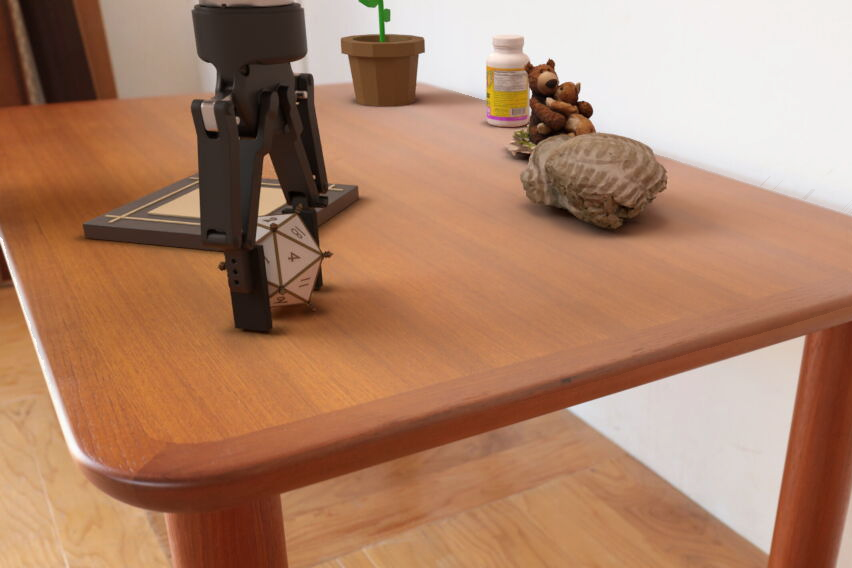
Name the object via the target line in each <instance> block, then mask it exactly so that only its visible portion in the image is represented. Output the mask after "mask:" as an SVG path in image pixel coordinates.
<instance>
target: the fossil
mask: <svg viewBox="0 0 852 568" xmlns="http://www.w3.org/2000/svg"><path fill="white" fill-rule="evenodd" d="M667 173H668V171H667V169H666V167H664V165H663V164H661V163H660V162H659V161H657V159H656V156H655V154H654V151H653V149H652V148H651V147H650V146H649V145H647V144H645V143H644V142H642V141H640V140H636V139H633V138H630V137H627V136H624V135H623V136H622V135H619V134H614V133H606V132H596V133H590V134H584V135H578V136H576V137H573V136H570V135H558V136H553V137H549V138H547V139H545V140H543V141H541V142H539V144H538V145H537V146H536V147H535V149H534V151H533V152H532V154H530V156H529V157H528V164H527V165H526V167H525V168H524V170H523V171H521V172H520V174H519V179H520V182H521V184H522V189H523V190H524V191H525V192H526V195H525V197H527V198H528V199H529V201H531V203H532V204H538V205H543V206H544V205H545V206H549V207H555V208H559V209H563V210H565V211H567V212H568V213H569V214H571V215H573V216H574V217H576V218H577V219H578V220H580V221H582V222H584V223H586V224H590V225H592V226H593V225H594V226H597V227H600V228H602V229H605V230H611V231H612V230H616V229H618V228H619V227H621V226H623V222H624V223H627V220H630V219H632V218H636V217H637V216H638V215H639V214H640V213H641V214H642V213H643V211H645V210H644V209H645V208H646V207H645V206H646V205H648V204H652V203H653V200H655V199H656V198H657V194H658V193H659V194H662V193H663V192H664V191H666V190H667V188H668V187H667V184H668V179H669V177H668V175H667Z"/></svg>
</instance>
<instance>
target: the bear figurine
mask: <svg viewBox="0 0 852 568" xmlns="http://www.w3.org/2000/svg"><path fill="white" fill-rule="evenodd" d="M555 67H556V62H555V61H554V60H553V59H551V58H550V57H548V59H547V61H546V63H542V64H540V63H539V64H538V65H535V66H534V64H533V63H531V60H530V61H529V62H528V63H527V64H526V65H525V66H524V68H525V71H526V72H527V73H528V83H529V88H530V92H531V95H530V100H529V103H530V104H529V105H530V111H531V112H530V117H529V122H528V124H526V128H527V129H526V130H525V129H517V130H514V131H513V135H512V138H511V139H510V142H508V143H505V146H506V148H507V149H508V152H509V153H510V155H511V156H513V157H514V156H516V155H517V153H523V154H529V155H531V154H532V152H533V151H534V149H535V147H536V146H537V145H538V144H539V142H541V141H543V140H545V139H547V138H549V137H553V136H558V135H570V136H573V137H576V136H578V135H584V134H590V133H597V130H596V128H595V125H594V124H593V122H592V121H591V117H592V116H593V114H594V108H593V106H592V104H591V103H589V102H588V101H585V100H579V94H580V93H581V89H582V88H581V87H582V86H581V85H582V83H581V82H580V81H577V82H576V84H575V82H572V81H564V82H563V83H561V84H560V80H559V76H558V74H557V72H556V68H555Z"/></svg>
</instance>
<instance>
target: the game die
mask: <svg viewBox="0 0 852 568" xmlns="http://www.w3.org/2000/svg"><path fill="white" fill-rule="evenodd" d="M302 210H303V209H302V203H301V204H299V205H298V206H296V209H295V213H287V214H276V215H264V216H258V222H257V232H256V243H255V244H256V245H263V248H264V257H265V265H266V274H267V282H268V291H269V299H270V308H278V307H279V308H280V307H289V306H296V305H303V304H304V305H305V304H306V305H307V307H308V308H309V310H311V311H314V312H316V311H317V310H316V309H317V308H316V304H314V302H313V301H311V299H312V295H313V293H314V290H315V288H314V286H315V283H316V280H317V277H318V274H319V270H320V267H322V264H323V263H322V262H323V260H324V259H327V258H328V259H330V258H331V257H332V256H333V255H334V253H333V252H331V251H329V250H327V251H324V252H323V251H322V249H321V247H320V248H319V246H318V244H317V243H316V241H315V240H314V238H313V237H312V235H311V233H310V232H309V230H308V229H307V227H306V226H305V224H304V222H303V221H302V219H301V218H300V216H299V213H300V212H301V211H302ZM216 269H218V270H220V271H222V272H223V271H227V270H226V263H225V261H223V260H222V261H221V262H220V263H219V264H218V265H217V267H216Z"/></svg>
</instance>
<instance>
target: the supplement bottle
mask: <svg viewBox="0 0 852 568" xmlns="http://www.w3.org/2000/svg"><path fill="white" fill-rule="evenodd" d="M492 46H493V49H494V50H493V52H492V53H491V54H489V55H488V56H487V58H486V60H485V61H486V62H485V68H486V71H485V73H486V75H485V79H486V82H485V83H486V89H485V91H486V95H485V97H486V105H485V106H486V107H485V109H486V122H487V123H488V124H489V125H491V126H493V127H498V128H519V127H523V126H525V125H526V126H527V125H528V124H529V123H530V116H531V112H530V111H531V108H530V105H529V104H530V103H529V100H530V99H531V89H530V88H529V83H528V73H527V72H526V71H525V68H524V66H525V65H526V64H527V63H528V62H529V61H530V62H531V59H530V57H529V56H528V54H526V53H525V52H524V51H523V50H524V49H523V48H524V46H525V36H524V35H518V34H497V35H493V36H492Z"/></svg>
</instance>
